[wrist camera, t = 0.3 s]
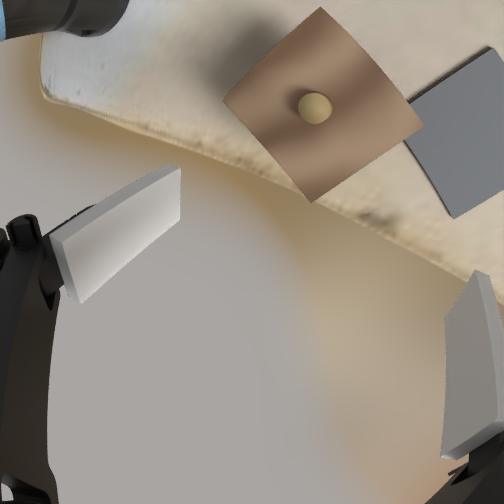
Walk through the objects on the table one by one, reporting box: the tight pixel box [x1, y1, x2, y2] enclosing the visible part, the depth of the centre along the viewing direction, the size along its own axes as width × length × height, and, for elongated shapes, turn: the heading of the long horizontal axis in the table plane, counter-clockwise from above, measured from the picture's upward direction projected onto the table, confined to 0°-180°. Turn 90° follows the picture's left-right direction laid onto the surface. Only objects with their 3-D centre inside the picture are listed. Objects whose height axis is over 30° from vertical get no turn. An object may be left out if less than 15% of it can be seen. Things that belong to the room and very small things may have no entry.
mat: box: [405, 48, 504, 219], centre depth 26 cm, size 14×16×1 cm
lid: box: [222, 7, 424, 203], centre depth 23 cm, size 12×12×3 cm
